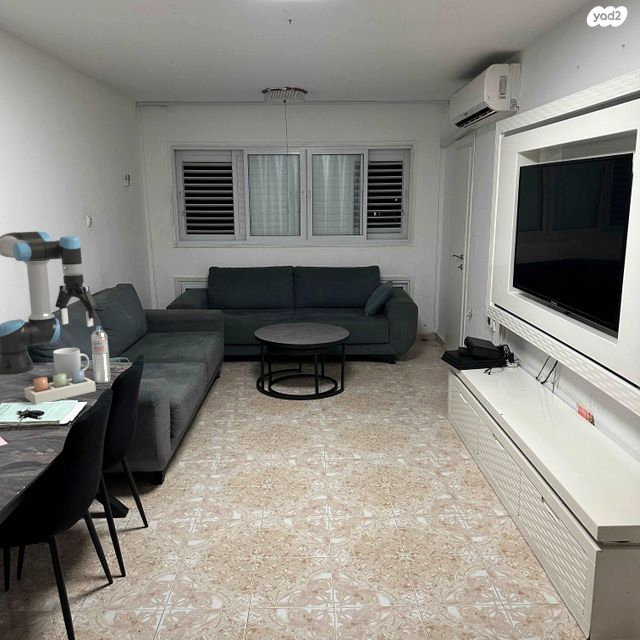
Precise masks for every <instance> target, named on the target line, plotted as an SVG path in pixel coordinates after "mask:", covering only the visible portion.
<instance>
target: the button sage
mask: <svg viewBox="0 0 640 640" xmlns="http://www.w3.org/2000/svg"><path fill="white" fill-rule="evenodd" d="M52 381H53V384H54V388H60V387H65V386H67V380H66V374H64V373H59V374H57V373H55V374H52Z"/></svg>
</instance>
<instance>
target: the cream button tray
mask: <svg viewBox="0 0 640 640" xmlns="http://www.w3.org/2000/svg"><path fill="white" fill-rule="evenodd" d="M96 388H97V387H96V382H95V380H91V379H90V378H88V377H86V376H85V382H83V383H78V384H72V379H67V386H65V387H60V388H54V384H53V382H49V383H48V390H46V391H41V392H37V393H36V392H35V391H34V385H33V386H29V387H25V388H23V389H24V398H25V399H26V400H28V401H29V402H31V403H32V404H34V405H36V404H37V405H40V404H39V403H42V404H44V403H43V402H46V403H50V402H54V401H59V400H62V399H67V398H71V397H75V396H76V397H77V396H81V395H84V394H89V393H94V392H96V391H97V390H96Z"/></svg>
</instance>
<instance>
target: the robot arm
mask: <svg viewBox="0 0 640 640" xmlns="http://www.w3.org/2000/svg"><path fill="white" fill-rule="evenodd" d="M81 248H82V244H81V239H80V237H78V236H73V235H72V236H71V235H70V236H61V237H60V238H59V239H57V240H52V238H51V237H50V235H49V234H48V233H47V232H45V231H37V230H36V231H21V232H15V231H14V232H8V233H4V234H2V235H1V236H0V256H2V257H5V258H12V259H13V258H14V259H15V261H17V262H23V263H24V264H26V270H27V280H28V291H29V301H30V302H29V303H30V312H31V313H30V315H28V317H27V320H28V321H25V319H13V320H8V321H5V322H1V323H0V374H1V375H9V374H10V375H13V374H14V375H15V374H19V373H25V372H29V371H30V370H33V369H34V363H33V360H32V359H31V356H30V355H29V352H28V347H32V346H39V345H46V344H51V343H55V342H57V341H58V340H59V339H60V335H61V324H62V325H68V324H69V314H68V308H67V306H68V303H69V302H70V300H71V299H72V298H73V297H74V298H77V299H79V300H80V302H81V304H82V305H83V306H84V308H85V309H86V310H85V316H86V317H85V318H86V327H89V328H90V327H93V326H94V310H96V309H97V308H98V306H97V304H96V301H95V300H94V297H93V295H92V293H91V291H90V287H89V285H87V286H84V285H83V284H84V281H85V280H84V275H83V272H84V271H83V262H82V249H81ZM50 260H61V266H62V274H63V285H59V291H58V296H57V299H56V303H55V305H54V306H55V307H56V308H58V309H59V313H60V317H61V324H60V321H59V319H58V318H57V317H56V316H55V315H54V314H53V312H51V311H52V310H51V308H52V307H51V298H50V288H49V286H50V285H49V275H48V263H49V262H50Z"/></svg>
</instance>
